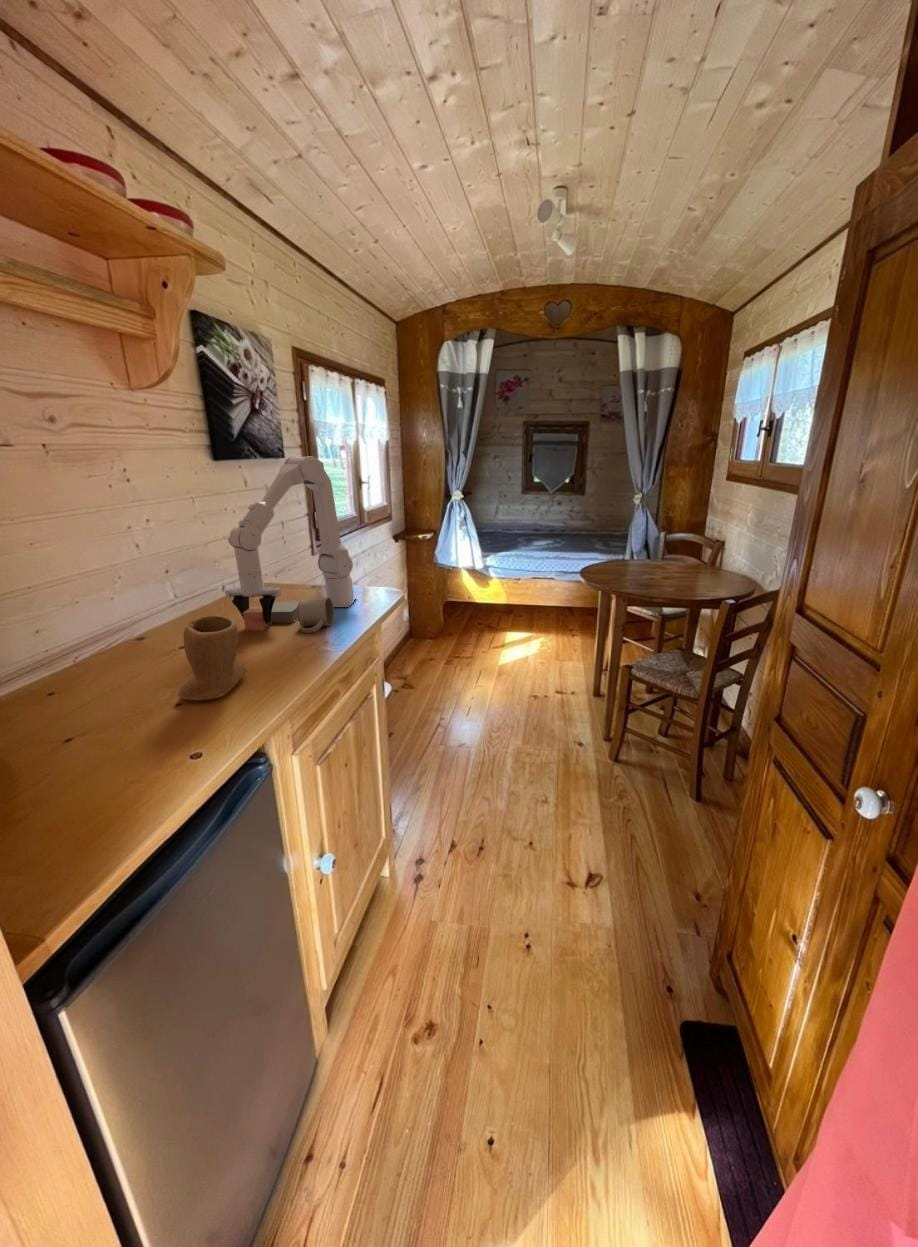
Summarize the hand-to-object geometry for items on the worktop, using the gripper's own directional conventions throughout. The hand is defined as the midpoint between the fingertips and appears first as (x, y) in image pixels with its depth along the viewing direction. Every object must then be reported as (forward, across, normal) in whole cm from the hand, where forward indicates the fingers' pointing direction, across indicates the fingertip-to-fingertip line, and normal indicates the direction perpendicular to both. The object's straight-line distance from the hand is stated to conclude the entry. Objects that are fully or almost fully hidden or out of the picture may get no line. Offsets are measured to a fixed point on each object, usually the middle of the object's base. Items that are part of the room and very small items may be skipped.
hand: (258, 622), depth 146 cm
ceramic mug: (+2, +16, 0) cm, 16 cm away
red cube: (+1, 0, 0) cm, 1 cm away
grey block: (+2, +3, +9) cm, 10 cm away
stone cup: (+2, +9, -38) cm, 39 cm away
